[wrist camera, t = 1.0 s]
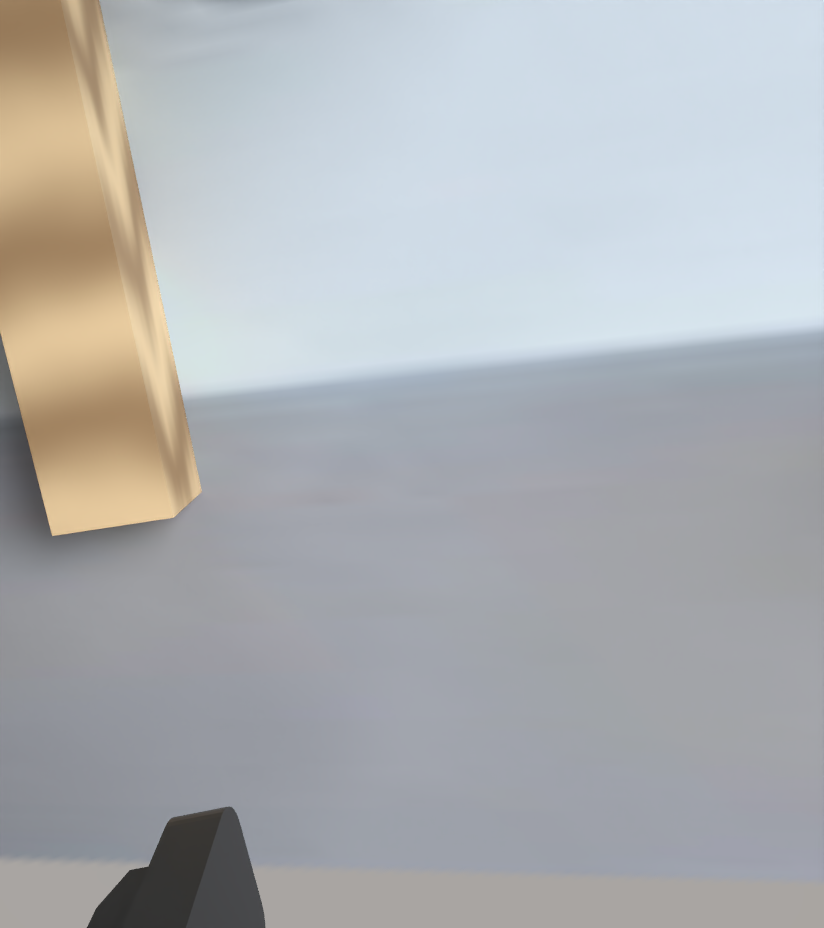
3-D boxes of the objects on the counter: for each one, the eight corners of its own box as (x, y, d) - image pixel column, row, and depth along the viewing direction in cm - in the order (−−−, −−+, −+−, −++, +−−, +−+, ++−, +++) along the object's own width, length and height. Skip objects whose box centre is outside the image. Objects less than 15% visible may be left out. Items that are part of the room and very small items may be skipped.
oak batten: (-23, -6, 27) (-103, -71, 22) (96, -22, 27) (40, -91, 22) (99, 505, 31) (52, 535, 26) (203, 489, 31) (173, 517, 26)
